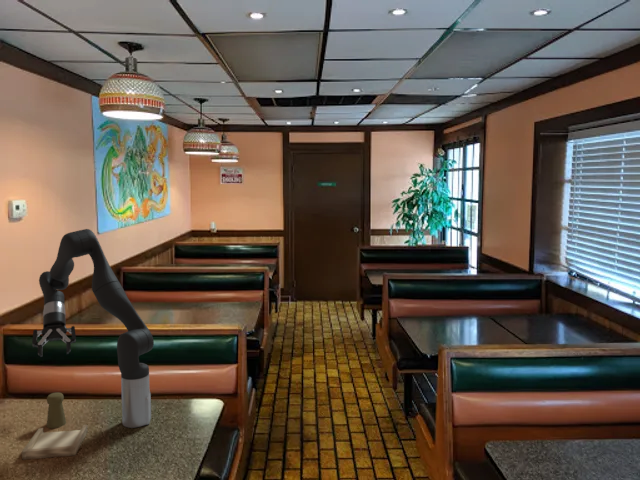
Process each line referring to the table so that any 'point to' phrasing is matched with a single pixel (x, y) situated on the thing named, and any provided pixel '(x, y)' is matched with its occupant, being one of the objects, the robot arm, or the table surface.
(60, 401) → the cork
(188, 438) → the table surface
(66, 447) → the beige square tray
